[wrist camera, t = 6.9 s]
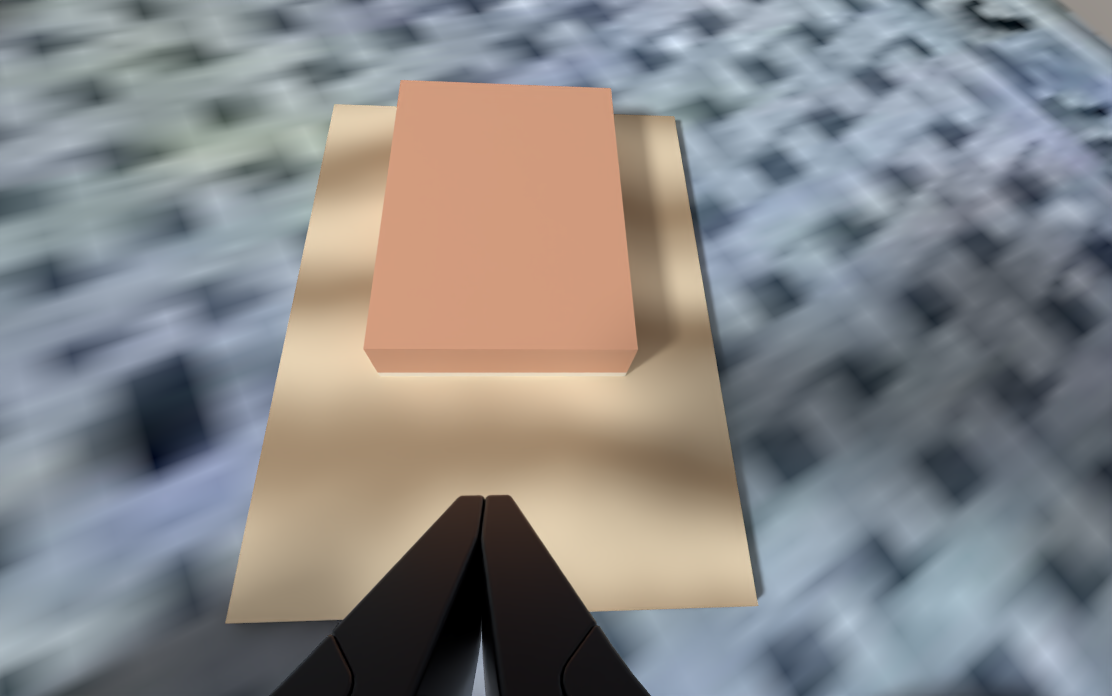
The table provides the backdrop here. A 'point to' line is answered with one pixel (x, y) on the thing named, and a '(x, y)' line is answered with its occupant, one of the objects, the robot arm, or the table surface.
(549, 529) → the board
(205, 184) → the table surface
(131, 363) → the table surface
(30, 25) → the table surface
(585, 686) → the robot arm
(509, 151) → the tile
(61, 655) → the table surface
